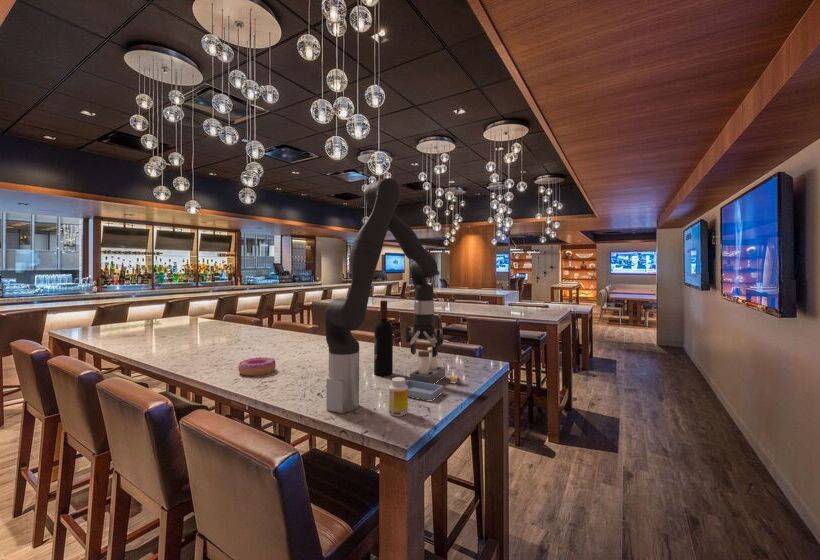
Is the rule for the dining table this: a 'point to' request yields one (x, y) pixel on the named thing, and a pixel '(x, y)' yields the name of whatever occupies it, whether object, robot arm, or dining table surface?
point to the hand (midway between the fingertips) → (424, 355)
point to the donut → (257, 366)
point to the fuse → (432, 360)
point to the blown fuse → (423, 363)
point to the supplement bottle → (398, 397)
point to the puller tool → (453, 378)
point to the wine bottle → (383, 344)
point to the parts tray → (423, 390)
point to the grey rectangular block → (429, 376)
